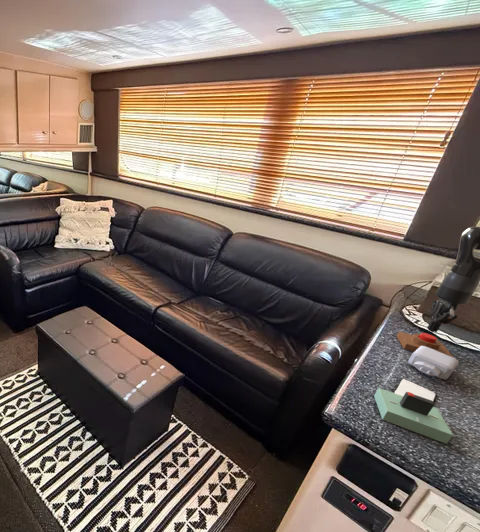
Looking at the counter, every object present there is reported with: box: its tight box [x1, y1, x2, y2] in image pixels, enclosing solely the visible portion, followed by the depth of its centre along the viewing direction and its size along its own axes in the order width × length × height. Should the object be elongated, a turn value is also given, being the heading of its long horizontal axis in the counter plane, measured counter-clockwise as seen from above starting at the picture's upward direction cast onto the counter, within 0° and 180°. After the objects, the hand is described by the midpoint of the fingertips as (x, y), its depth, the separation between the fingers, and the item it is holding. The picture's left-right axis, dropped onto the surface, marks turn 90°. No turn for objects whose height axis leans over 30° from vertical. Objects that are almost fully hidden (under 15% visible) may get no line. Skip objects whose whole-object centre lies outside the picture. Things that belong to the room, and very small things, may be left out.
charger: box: [407, 346, 460, 380], centre depth 102 cm, size 5×9×15 cm
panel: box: [373, 387, 454, 445], centre depth 82 cm, size 12×10×3 cm
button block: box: [396, 330, 454, 358], centre depth 114 cm, size 12×10×4 cm
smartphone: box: [394, 378, 436, 402], centre depth 91 cm, size 7×1×15 cm
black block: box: [400, 392, 435, 416], centre depth 81 cm, size 5×2×4 cm, turn 58°
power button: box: [419, 332, 438, 343], centre depth 113 cm, size 4×4×2 cm
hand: (431, 330), depth 112 cm, fingers closed
